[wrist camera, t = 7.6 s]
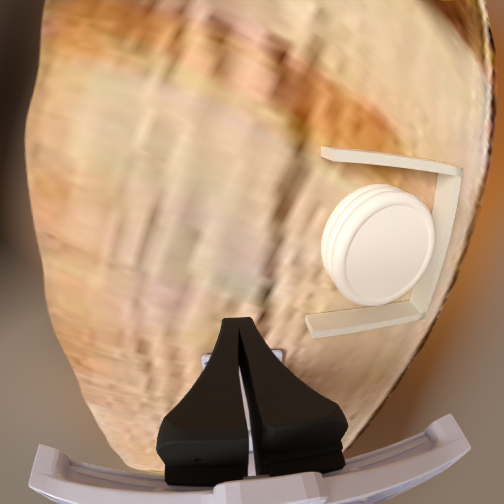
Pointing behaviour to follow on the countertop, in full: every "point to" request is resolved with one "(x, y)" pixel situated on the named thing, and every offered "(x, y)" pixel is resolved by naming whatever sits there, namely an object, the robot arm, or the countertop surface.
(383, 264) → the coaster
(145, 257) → the countertop surface
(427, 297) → the sorting bin
